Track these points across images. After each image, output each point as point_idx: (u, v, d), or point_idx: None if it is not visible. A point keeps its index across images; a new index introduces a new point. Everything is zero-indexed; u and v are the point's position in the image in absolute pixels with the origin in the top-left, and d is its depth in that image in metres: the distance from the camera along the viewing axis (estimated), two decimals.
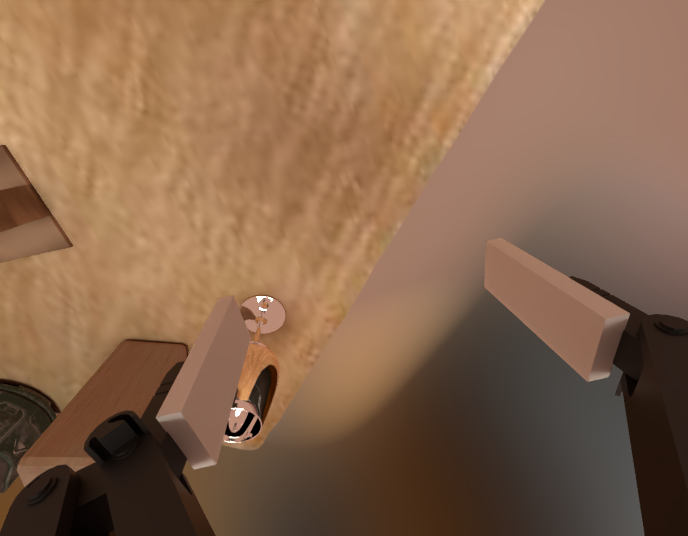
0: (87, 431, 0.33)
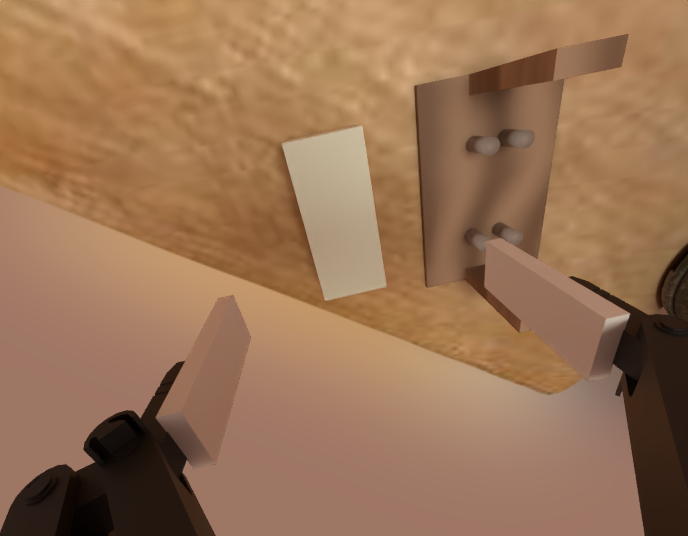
0: None
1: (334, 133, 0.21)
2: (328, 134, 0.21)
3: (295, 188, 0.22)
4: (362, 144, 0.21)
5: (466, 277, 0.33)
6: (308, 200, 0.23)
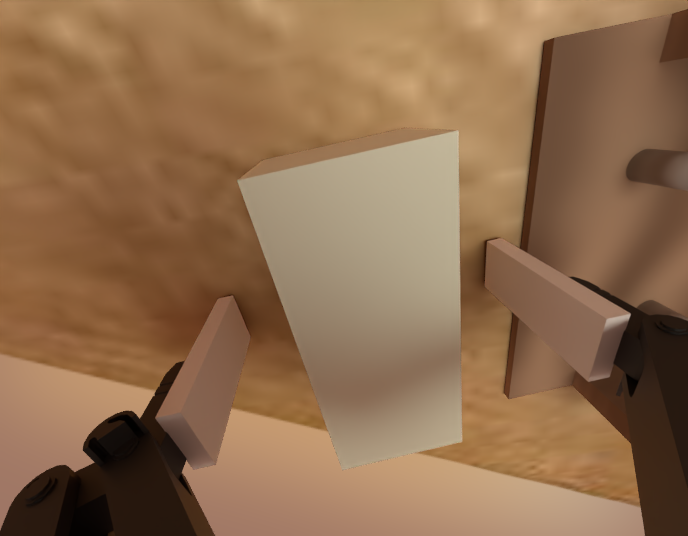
0: None
1: (382, 151, 0.08)
2: (365, 154, 0.08)
3: (278, 284, 0.09)
4: (452, 179, 0.08)
5: (576, 383, 0.19)
6: (310, 308, 0.10)
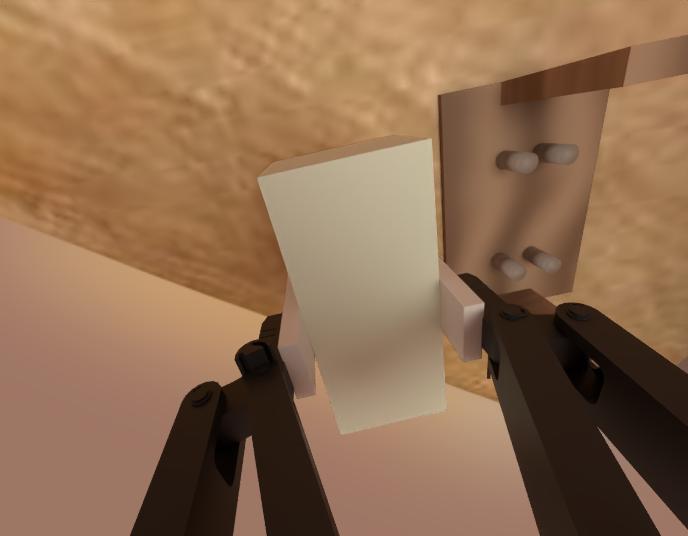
0: None
1: (371, 155, 0.10)
2: (358, 157, 0.10)
3: (287, 263, 0.11)
4: (428, 177, 0.10)
5: None
6: (313, 284, 0.12)
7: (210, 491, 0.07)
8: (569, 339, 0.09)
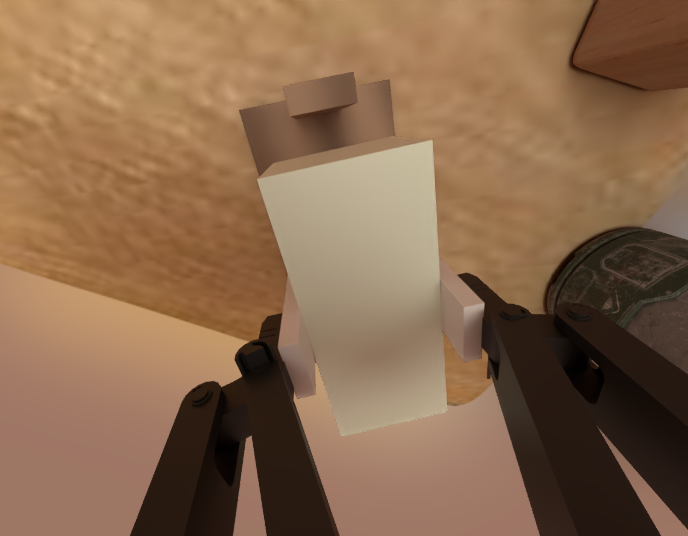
0: None
1: (371, 156, 0.10)
2: (358, 159, 0.10)
3: (288, 265, 0.11)
4: (429, 178, 0.10)
5: None
6: (314, 286, 0.12)
7: (210, 491, 0.07)
8: (569, 339, 0.09)
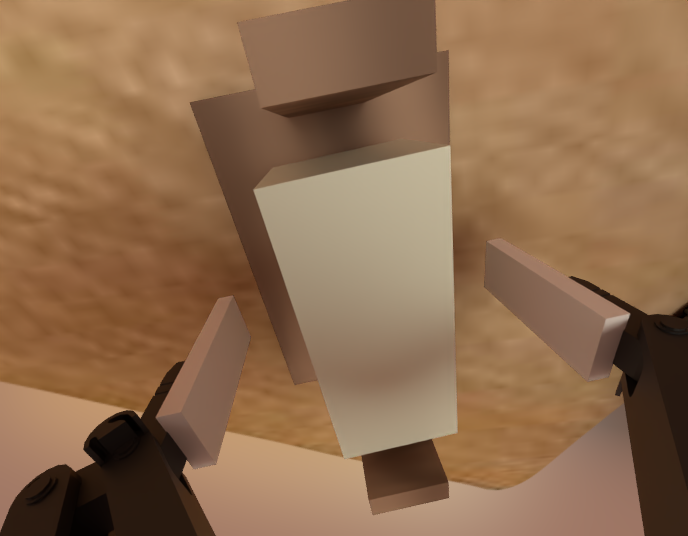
0: None
1: (382, 164, 0.09)
2: (367, 166, 0.09)
3: (288, 282, 0.10)
4: (445, 188, 0.09)
5: None
6: (317, 304, 0.11)
7: None
8: None
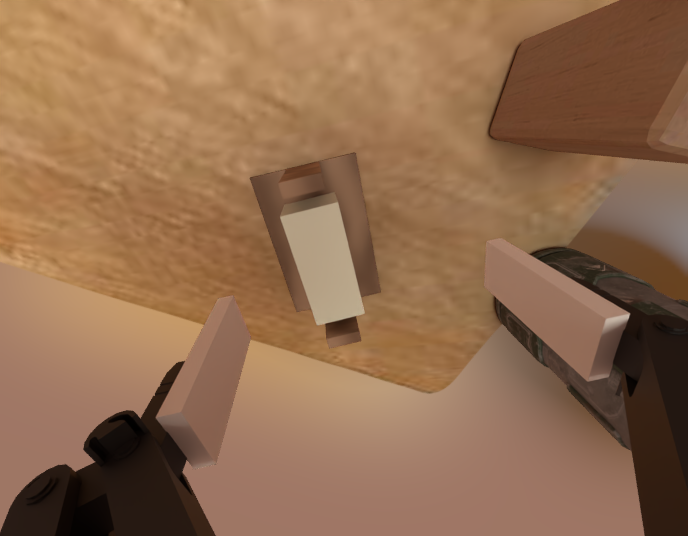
0: (636, 69, 0.19)
1: (318, 208, 0.29)
2: (313, 209, 0.29)
3: (291, 246, 0.30)
4: (339, 214, 0.29)
5: None
6: (301, 253, 0.31)
7: None
8: None
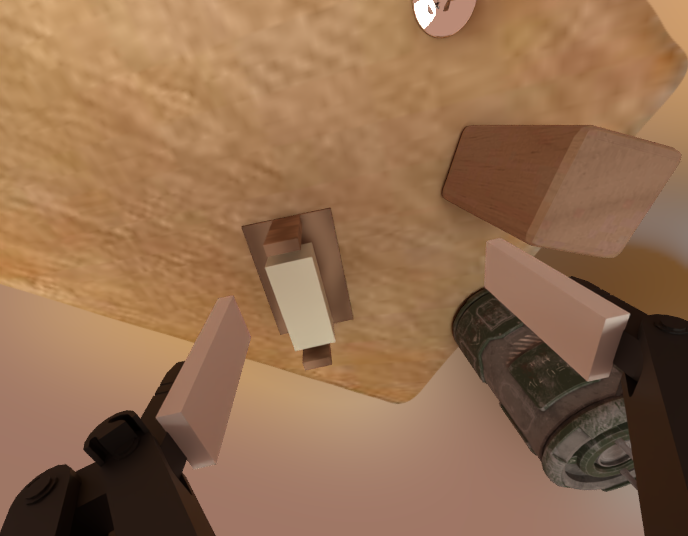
0: (523, 185, 0.27)
1: (295, 261, 0.36)
2: (292, 261, 0.36)
3: (273, 289, 0.37)
4: (313, 265, 0.36)
5: None
6: (282, 295, 0.38)
7: None
8: None
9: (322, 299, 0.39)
